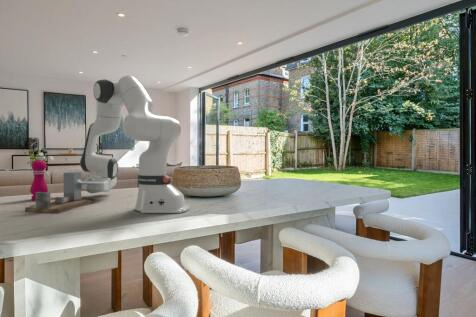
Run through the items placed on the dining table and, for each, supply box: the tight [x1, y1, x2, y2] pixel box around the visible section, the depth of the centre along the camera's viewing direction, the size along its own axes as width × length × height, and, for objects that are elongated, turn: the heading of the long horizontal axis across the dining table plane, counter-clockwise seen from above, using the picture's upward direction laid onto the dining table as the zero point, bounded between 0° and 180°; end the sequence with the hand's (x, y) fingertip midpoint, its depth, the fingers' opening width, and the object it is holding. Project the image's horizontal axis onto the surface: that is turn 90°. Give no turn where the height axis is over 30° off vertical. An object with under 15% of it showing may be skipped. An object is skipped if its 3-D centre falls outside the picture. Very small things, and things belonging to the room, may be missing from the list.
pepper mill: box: [29, 156, 49, 201], centre depth 155 cm, size 7×7×20 cm
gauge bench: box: [24, 191, 93, 214], centre depth 137 cm, size 14×22×8 cm, turn 172°
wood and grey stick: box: [50, 196, 64, 204], centre depth 137 cm, size 9×2×2 cm, turn 82°
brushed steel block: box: [63, 171, 82, 203], centre depth 142 cm, size 5×10×12 cm, turn 172°
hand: (76, 187), depth 147 cm, fingers closed, pressing on brushed steel block
